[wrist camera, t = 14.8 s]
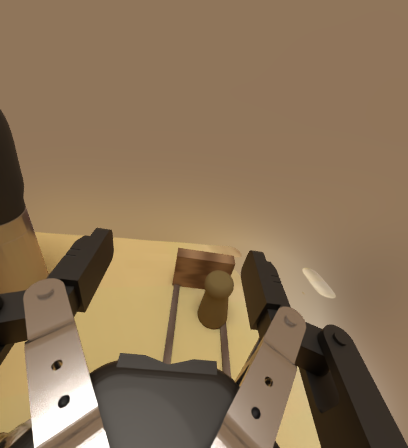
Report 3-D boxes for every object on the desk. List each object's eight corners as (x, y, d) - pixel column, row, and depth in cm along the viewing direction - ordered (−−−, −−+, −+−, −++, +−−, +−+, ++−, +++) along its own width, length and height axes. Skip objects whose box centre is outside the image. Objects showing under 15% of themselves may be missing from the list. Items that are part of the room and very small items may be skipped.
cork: (221, 299, 45) (230, 263, 39) (231, 325, 41) (243, 289, 34) (194, 303, 44) (199, 267, 38) (201, 331, 39) (208, 295, 33)
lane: (150, 427, 27) (154, 406, 22) (173, 276, 49) (178, 247, 44) (237, 432, 29) (260, 412, 24) (223, 283, 50) (233, 256, 45)
